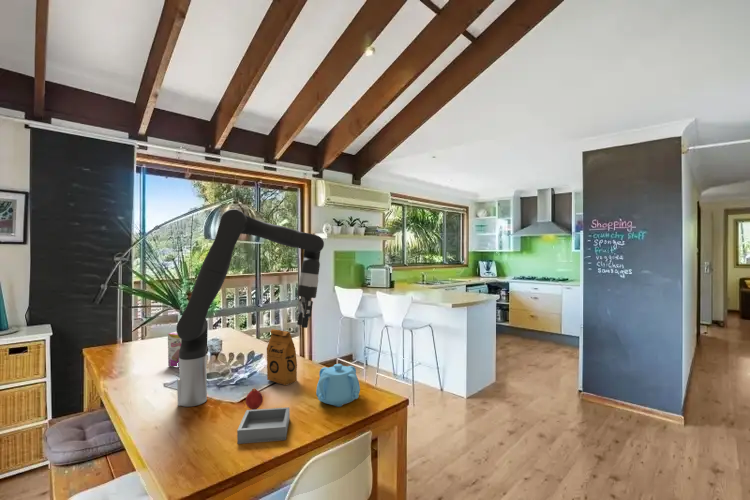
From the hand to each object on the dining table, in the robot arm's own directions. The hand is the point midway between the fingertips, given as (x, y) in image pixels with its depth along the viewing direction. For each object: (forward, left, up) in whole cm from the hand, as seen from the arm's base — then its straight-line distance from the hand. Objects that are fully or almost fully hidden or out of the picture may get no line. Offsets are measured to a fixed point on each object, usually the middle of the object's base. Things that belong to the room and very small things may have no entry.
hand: (302, 326), depth 150 cm
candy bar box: (-60, +44, -27) cm, 79 cm away
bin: (-10, -28, -27) cm, 40 cm away
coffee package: (-9, +16, -27) cm, 33 cm away
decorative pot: (+14, -8, -27) cm, 31 cm away
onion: (-16, -12, -27) cm, 34 cm away
